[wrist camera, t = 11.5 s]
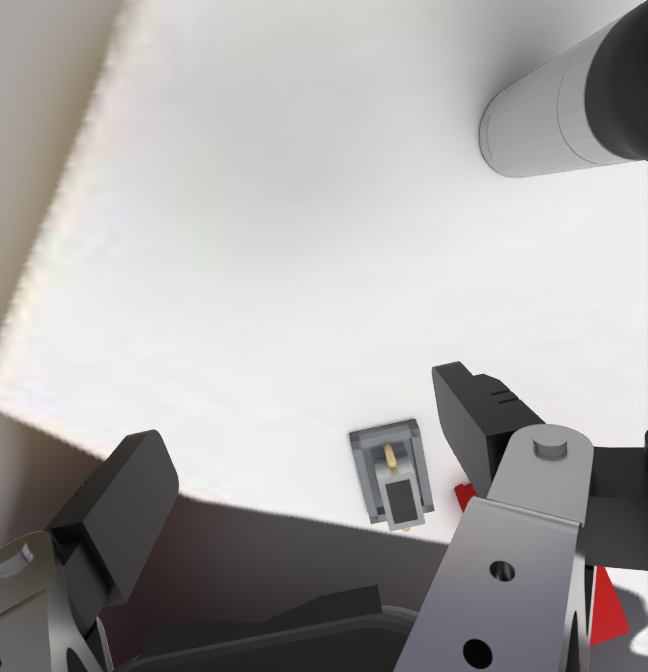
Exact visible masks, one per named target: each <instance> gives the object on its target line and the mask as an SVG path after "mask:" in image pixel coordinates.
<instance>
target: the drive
mask: <svg viewBox="0 0 648 672" xmlns="http://www.w3.org/2000/svg"><path fill="white" fill-rule="evenodd" d="M391 447H392V450H393V453H394V456H395V460H396V463H397V464H396V466H395V467H390V466H389V465H388V462H387V458H386V455H385V451H384V448H383V447H381V448H377V449H372V450H371V454H372V459H373V463H374V467H375V472H376V476H377V480H378V484H379V488H380V493H381V497H382V501H383V505H384V509H385V513H386V517H387V521H388V526H389V530H390V531H393V530H398V529H403V528H408V527H412V526H417V525H422V524H425V520H424V515H423V510H422V505H421V500H420V495H419V491H418V486H417V481H416V476H415V471H414V468H413V466H412V463H411V461H410V458H409V455H408V453H407V450H406V447H405V445H404V442H403V443H399V444H395V445H391Z"/></svg>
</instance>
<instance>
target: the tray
mask: <svg viewBox="0 0 648 672" xmlns="http://www.w3.org/2000/svg"><path fill="white" fill-rule="evenodd" d="M349 435H350V441H351V446H352V450H353V454H354V458H355V462H356V466H357V470H358V474H359V478H360V482H361V486H362V490H363V494H364V498H365V502H366V506H367V510H368V514H369V518H370V522H371V524H374V523H379V522H384V521H387V517H386V513H385V509H384V505H383V501H382V497H381V493H380V488H379V484H378V480H377V476H376V472H375V467H374V463H373V459H372V454H371V450H372V449H377V448H381V447H383V448H384V451H385V455H386V458H387V462H388V465H389V466H390V467H395V466H396V464H397V463H396V460H395V456H394V453H393V450H392V447H391V445H395V444H399V443H403V442H404V445H405V447H406V450H407V453H408V455H409V458H410V461H411V463H412V466H413V468H414V471H415V476H416V481H417V486H418V491H419V495H420V500H421V505H422V510H423V513H428V512H432V511H434V506H433V501H432V495H431V490H430V484H429V479H428V473H427V468H426V462H425V457H424V451H423V446H422V440H421V435H420V430H419V426H418V424H417V422H416V420H415V419H413V420H409V421H404V422H399V423H395V424H390V425H386V426H381V427H377V428H372V429H367V430H363V431H358V432H354V433H349ZM409 530H410V527H408V528H403V531H409Z"/></svg>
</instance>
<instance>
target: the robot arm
mask: <svg viewBox="0 0 648 672" xmlns="http://www.w3.org/2000/svg"><path fill="white" fill-rule="evenodd" d="M479 142H480V147H481V152H482V154H483V156H484V159H485V160H486V162H487V163H488V164H489V166H490V167H491V168H492V169H493V170H495V171H496V172H497V173H499V174H501V175H503V176H506V177H511V178H523V177H530V176H537V175H545V174H552V173H559V172H566V171H573V170H580V169H587V168H593V167H600V166H607V165H614V164H621V163H627V162H634V161H641V160H646V161H648V0H647V1H645V2H644V3H642V4H641V5H639V6H637V7H636V8H634V9H633V10H631V11H630V12H628V13H627V14H625V15H623V16H622V17H620V18H618V19H617V20H615V21H614V22H612V23H610V24H609V25H607V26H606V27H604V28H603V29H601V30H599V31H598V32H596V33H595V34H593V35H591V36H590V37H588V38H587V39H585V40H583V41H582V42H580V43H578V44H577V45H575V46H574V47H572V48H570V49H569V50H567V51H565V52H564V53H562V54H561V55H559V56H557V57H556V58H554V59H552V60H551V61H549V62H548V63H546V64H544V65H543V66H541V67H539V68H538V69H536V70H535V71H533V72H531V73H530V74H528V75H526V76H525V77H523V78H521V79H520V80H518V81H516V82H515V83H513V84H512V85H510V86H508V87H507V88H505V89H504V90H503V91H502V92H500V93H499V94H498V95H497V96H496V97H495V98H494V99H493V100H492V102H491V103H490V104H489V106H488V108H487V109H486V111H485V113H484V116H483V119H482V121H481V126H480V131H479ZM432 378H433V384H434V390H435V396H436V402H437V408H438V415H439V420H440V424H441V427H442V430H443V433H444V436H445V438H446V440H447V441H448V443H449V445H450V447H451V449H452V450H453V452H454V454H455V456H456V457H457V459H458V461H459V463H460V464H461V466H462V468H463V470H464V472H465V473H466V475H467V477H468V479H469V480H470V482H471V484H472V486H473V487H474V489H475V491H476V493H477V495H478V496H473V497H472V498H471V499H470V501H469V502H468V504H467V506H466V509H465V511H464V513H463V515H462V518H461V520H460V522H459V524H458V527H457V529H456V531H455V533H454V536H453V538H452V540H451V542H450V545H449V547H448V549H447V552H446V554H445V556H444V558H443V560H442V563H441V565H440V567H439V569H438V572H437V574H436V576H435V578H434V581H433V583H432V585H431V587H430V590H429V592H428V594H427V596H426V599H425V601H424V603H423V605H422V608H421V610H420V613H418V612H415V611H412V610H409V609H405V608H400V607H396V606H385V605H383V602H382V598H381V594H380V590H379V586H378V585H374V586H369V587H363V588H359V589H353V590H348V591H343V592H338V593H333V594H328V595H323V596H320V597H318V598H315V599H313V600H311V601H309V602H307V603H304V604H302V605H300V606H298V607H296V608H293V609H291V610H289V611H287V612H285V613H282V614H280V615H278V616H276V617H274V618H272V619H270V620H267V621H264V622H261V623H245V622H235V621H223V620H212V619H202V620H197V621H192V622H187V623H182V624H177V625H172V626H167V627H162V628H157V629H151V630H150V632H149V634H148V637H147V640H146V642H145V645H144V647H143V650H142V652H141V655H139V656H137V657H135V658H133V659H131V660H129V661H128V662H126V663H124V664H123V665H121V666H119V667H118V668H116V669H115V670H114V669H113V665H112V660H111V657H110V652H109V648H108V644H107V640H106V636H105V631H104V627H103V625H102V623H101V622H100V620H99V618H98V614H99V612H100V610H101V608H104V607H109V606H114V605H119V604H123V603H126V602H127V600H128V598H129V596H130V594H131V592H132V590H133V588H134V586H135V584H136V581H137V579H138V577H139V575H140V573H141V570H142V569H143V567H144V565H145V563H146V560H147V558H148V556H149V554H150V552H151V550H152V548H153V545H154V544H155V541H156V539H157V537H158V535H159V533H160V531H161V529H162V527H163V525H164V522H165V520H166V518H167V516H168V514H169V512H170V510H171V508H172V505H173V504H174V501H175V499H176V497H177V495H178V490H179V480H178V475H177V472H176V470H175V468H174V465H173V463H172V460H171V458H170V456H169V453H168V451H167V449H166V446H165V444H164V442H163V439H162V437H161V435H160V433H159V432H158V431H156V430H149V431H144V432H140V433H135V434H131V435H127V436H126V437H125V438H124V439H123V440H122V442H121V443H120V444H119V445H118V446H117V448H116V449H115V450H114V451H113V453H112V454H111V455H110V456H109V457H108V459H107V460H106V461H104V462H103V463H102V464H101V465H99V466H98V467H97V468H96V469H94V471H93V472H92V473H91V474H90V475H89V477H88V478H87V479H86V480H85V481H84V485H81V486H80V487H79V488H78V490H77V491H76V492H75V493H74V496H73V497H71V498H70V499H69V500H68V502H67V503H66V504H65V505H64V506H63V508H62V509H61V510H60V511H59V512H58V514H57V515H56V516H55V517H54V518H53V519H52V521H51V522H50V523H49V524H48V526H47V527H46V528H45V529H44V530H43V531H38V532H33V533H30V534H27V535H25V536H22V537H20V538H18V539H16V540H14V541H12V542H10V543H9V544H7V545H5V546H4V547H2V548H1V549H0V672H588V665H589V649H590V638H591V627H592V615H593V604H594V592H595V581H596V570H597V566H601V567H612V568H623V569H633V570H644V571H648V430H647V431H646V433H645V447H634V448H609V447H595V446H593V445H592V443H591V441H590V440H589V439H588V438H587V437H586V436H585V435H583V434H582V433H580V432H578V431H576V430H574V429H571V428H568V427H564V426H560V425H553V424H546V423H545V422H544V421H543V420H542V419H541V418H540V417H539V416H538V415H536V414H535V413H534V412H533V411H532V410H531V409H530V408H529V407H528V406H527V405H526V404H525V403H524V402H523V401H521V400H519V399H518V397H517V396H516V395H515V394H514V393H513V392H512V391H511V392H510V389H509V388H508V387H507V386H505V385H504V384H503V383H502V382H501V381H500V380H498V379H496V378H493V377H491V376H488V375H485V374H480V375H475V376H473V375H472V374H471V373H470V372H469V371H468V370H467V368H466V367H465V366H464V365H463V364H462V363H461V362H460V361H457V362H453V363H448V364H444V365H440V366H435V367H432Z"/></svg>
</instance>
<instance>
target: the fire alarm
mask: <svg viewBox="0 0 648 672" xmlns="http://www.w3.org/2000/svg"><path fill="white" fill-rule="evenodd" d="M455 492H456V495H457V498H458V501H459V504H460V507H461V509H462V511H463V513H464V511H465V509H466V506H467V504H468V502H469V501H470V499H471V498H472V497H473V496H478V495H477V493H476V491H475V489H474V487H473V486H472V484H470V485H468V486H465V487H464V486H463V485H462V484H460V485H458V486H456V487H455ZM628 632H629V628H628V625H627V621H626V618H625V615H624V612H623V610H622V607H621V605H620V602H619V599H618V597H617V595H616V592H615V590H614V587H613V585H612V583H611V580H610V578H609V576H608V574H607V571H606V569H605V567H601V566H597V570H596V581H595V592H594V604H593V615H592V627H591V638H590V646H593V645H596V644H598V643H601V642H604V641H607V640H609V639H612V638H615V637H617V636H620V635H623V634H625V633H628Z"/></svg>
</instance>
